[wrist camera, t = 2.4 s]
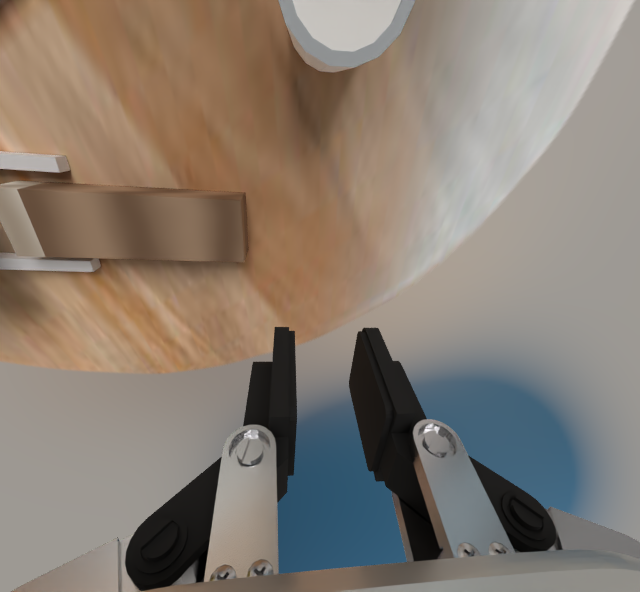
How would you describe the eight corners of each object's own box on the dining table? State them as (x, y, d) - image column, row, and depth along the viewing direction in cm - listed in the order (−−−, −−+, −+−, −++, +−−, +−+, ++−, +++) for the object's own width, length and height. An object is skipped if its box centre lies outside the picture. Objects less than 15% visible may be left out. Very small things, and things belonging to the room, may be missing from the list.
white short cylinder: (382, 74, 21) (420, 55, 15) (289, 91, 21) (289, 78, 15) (378, -66, 18) (424, -163, 12) (265, -46, 18) (254, -134, 12)
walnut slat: (245, 192, 24) (240, 200, 22) (248, 249, 27) (244, 262, 24) (19, 180, 23) (-16, 187, 20) (44, 242, 25) (16, 256, 22)
